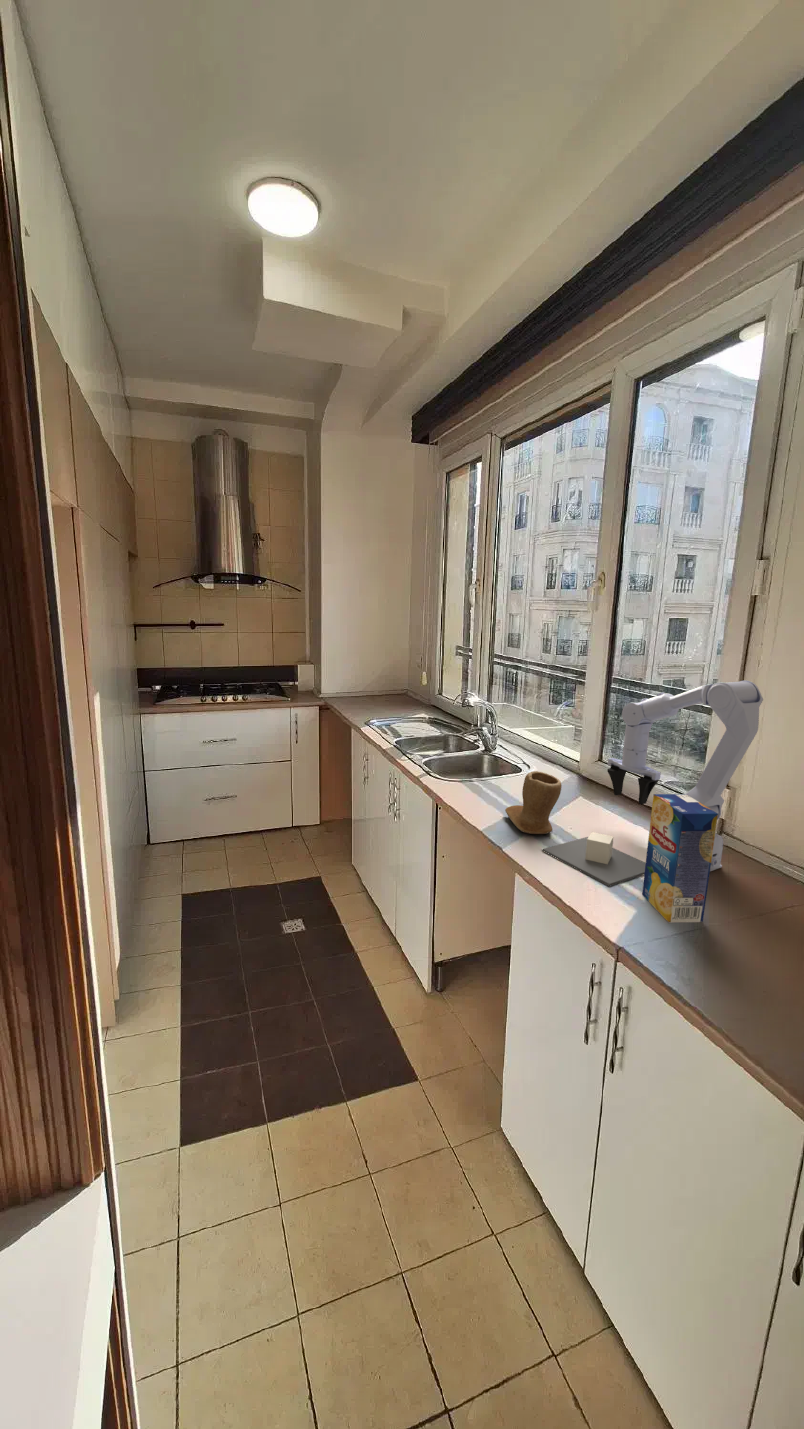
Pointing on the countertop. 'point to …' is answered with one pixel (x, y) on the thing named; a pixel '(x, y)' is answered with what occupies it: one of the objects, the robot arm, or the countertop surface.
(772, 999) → the countertop surface
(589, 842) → the cream cube
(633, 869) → the charcoal mat
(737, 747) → the robot arm
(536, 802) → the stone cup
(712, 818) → the beverage box
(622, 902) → the countertop surface
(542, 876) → the countertop surface
